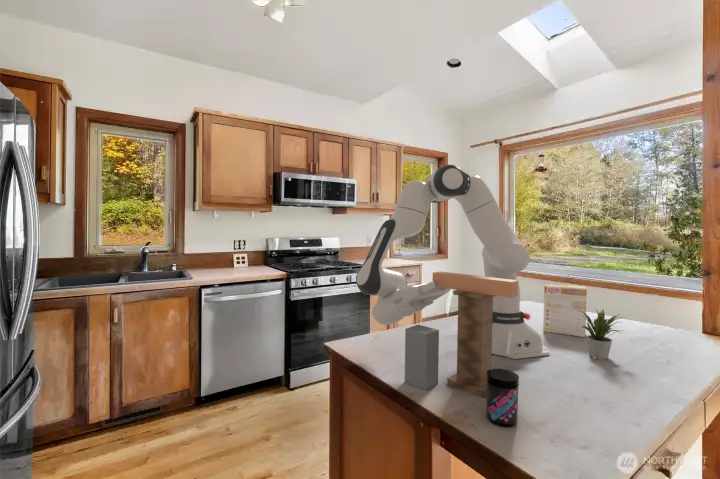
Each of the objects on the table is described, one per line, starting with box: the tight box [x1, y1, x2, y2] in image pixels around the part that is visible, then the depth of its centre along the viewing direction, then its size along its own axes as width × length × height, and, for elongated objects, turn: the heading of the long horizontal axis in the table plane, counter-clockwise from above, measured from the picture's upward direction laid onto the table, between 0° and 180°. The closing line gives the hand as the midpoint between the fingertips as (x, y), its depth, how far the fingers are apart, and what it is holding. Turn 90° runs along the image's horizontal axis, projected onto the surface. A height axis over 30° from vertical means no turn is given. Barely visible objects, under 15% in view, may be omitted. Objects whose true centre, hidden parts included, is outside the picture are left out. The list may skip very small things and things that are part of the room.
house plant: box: [581, 308, 625, 360], centre depth 118 cm, size 14×14×16 cm
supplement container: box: [485, 368, 520, 428], centre depth 79 cm, size 7×7×10 cm
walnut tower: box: [446, 290, 495, 398], centre depth 96 cm, size 11×9×26 cm
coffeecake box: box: [542, 283, 587, 338], centre depth 146 cm, size 15×7×20 cm, turn 58°
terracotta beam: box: [432, 271, 519, 298], centre depth 96 cm, size 23×4×4 cm, turn 45°
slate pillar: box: [404, 324, 440, 391], centre depth 98 cm, size 7×6×15 cm
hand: (444, 281), depth 103 cm, fingers open, 8 cm apart
